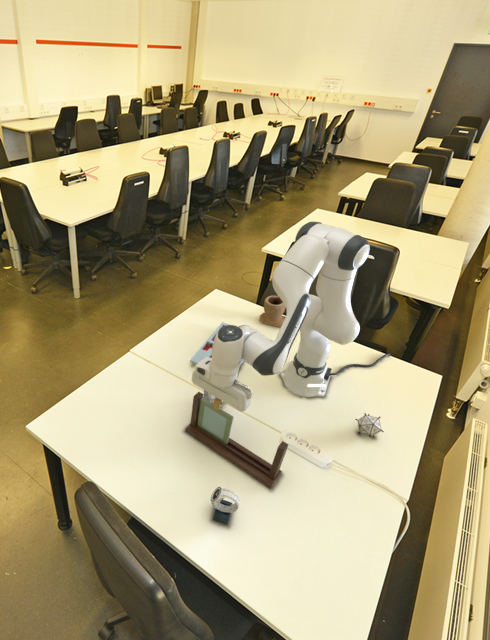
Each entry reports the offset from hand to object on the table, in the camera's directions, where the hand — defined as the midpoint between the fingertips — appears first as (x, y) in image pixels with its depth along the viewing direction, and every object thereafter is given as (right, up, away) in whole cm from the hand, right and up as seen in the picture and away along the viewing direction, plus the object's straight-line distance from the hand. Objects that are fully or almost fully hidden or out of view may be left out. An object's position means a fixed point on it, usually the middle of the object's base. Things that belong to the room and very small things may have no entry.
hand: (217, 404), depth 128 cm
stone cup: (+41, +29, +71) cm, 87 cm away
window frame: (+6, -17, +6) cm, 19 cm away
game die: (+57, -13, +14) cm, 60 cm away
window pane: (0, -12, +9) cm, 15 cm away
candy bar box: (0, -6, +22) cm, 23 cm away
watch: (-1, -31, -12) cm, 33 cm away
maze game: (+13, +15, +51) cm, 54 cm away
